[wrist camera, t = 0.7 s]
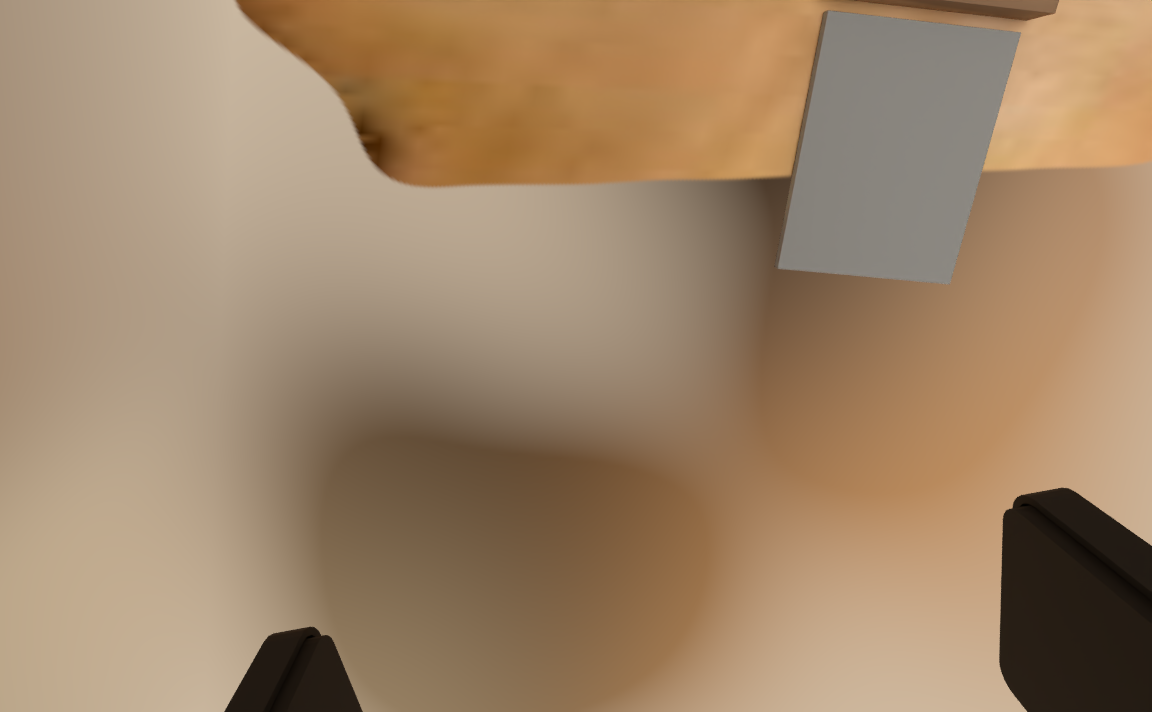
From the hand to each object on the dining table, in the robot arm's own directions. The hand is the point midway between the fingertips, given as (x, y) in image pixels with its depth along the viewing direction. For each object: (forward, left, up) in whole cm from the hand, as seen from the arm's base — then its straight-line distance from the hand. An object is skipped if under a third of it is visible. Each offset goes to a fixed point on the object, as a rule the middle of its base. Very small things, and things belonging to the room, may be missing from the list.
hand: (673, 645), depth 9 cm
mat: (-7, +16, -29) cm, 34 cm away
